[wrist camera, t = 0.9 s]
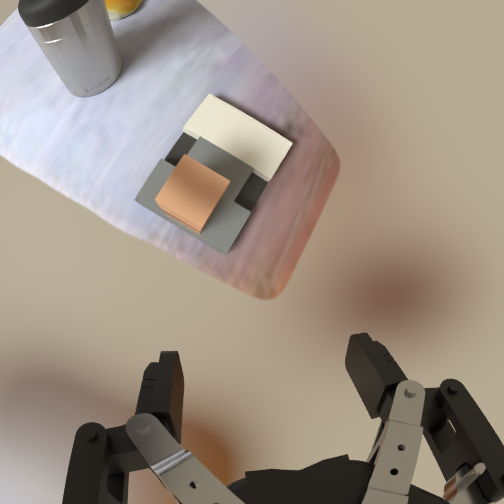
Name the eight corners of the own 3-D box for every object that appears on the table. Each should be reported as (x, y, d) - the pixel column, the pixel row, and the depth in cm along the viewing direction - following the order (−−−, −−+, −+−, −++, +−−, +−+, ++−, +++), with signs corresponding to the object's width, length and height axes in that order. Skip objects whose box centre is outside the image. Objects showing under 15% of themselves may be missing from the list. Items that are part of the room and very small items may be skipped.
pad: (267, 182, 39) (271, 178, 37) (183, 132, 36) (183, 126, 35) (288, 148, 39) (292, 143, 37) (208, 100, 37) (209, 93, 35)
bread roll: (150, -8, 35) (149, -22, 31) (129, 22, 35) (126, 7, 31) (112, -9, 33) (109, -22, 29) (89, 21, 33) (84, 8, 29)
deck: (224, 254, 38) (226, 254, 36) (137, 202, 35) (134, 199, 33) (267, 182, 39) (271, 178, 37) (183, 132, 36) (183, 126, 35)
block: (199, 234, 35) (201, 227, 26) (163, 212, 34) (154, 199, 25) (221, 198, 35) (230, 181, 27) (185, 177, 35) (184, 153, 26)
